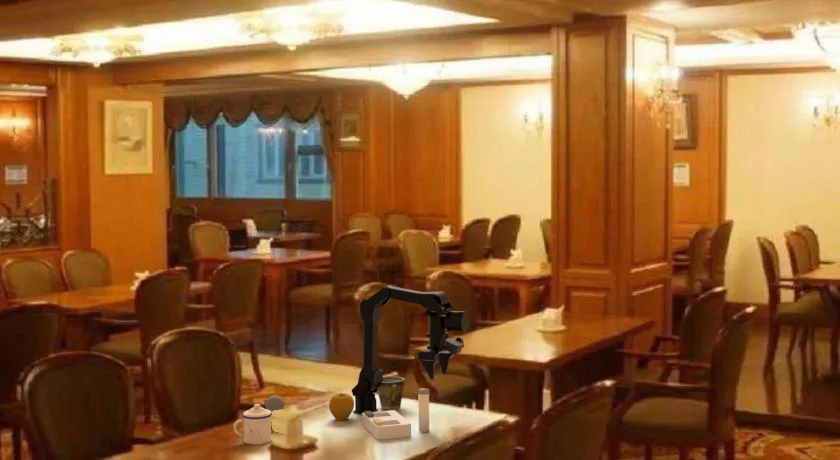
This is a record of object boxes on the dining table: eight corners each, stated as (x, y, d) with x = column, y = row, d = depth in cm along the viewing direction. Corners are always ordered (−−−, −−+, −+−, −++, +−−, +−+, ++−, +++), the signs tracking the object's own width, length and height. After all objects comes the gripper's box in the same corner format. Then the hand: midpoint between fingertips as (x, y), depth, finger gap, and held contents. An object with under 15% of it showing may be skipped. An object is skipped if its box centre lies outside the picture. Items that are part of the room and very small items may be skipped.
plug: (416, 431, 354) (416, 390, 353) (421, 429, 357) (421, 387, 356) (426, 432, 353) (425, 391, 352) (431, 430, 356) (430, 388, 355)
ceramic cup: (373, 405, 390) (372, 377, 389) (400, 403, 393) (399, 375, 392) (382, 413, 378) (382, 385, 377) (410, 411, 381) (410, 382, 380)
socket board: (362, 425, 364) (362, 410, 363) (394, 422, 367) (394, 407, 366) (377, 439, 345) (377, 424, 345) (411, 436, 349) (411, 420, 348)
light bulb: (281, 428, 361) (280, 398, 360) (263, 427, 363) (262, 397, 362) (286, 423, 367) (286, 393, 366) (269, 422, 368) (268, 393, 368)
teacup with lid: (269, 436, 352) (268, 400, 351) (275, 443, 343) (274, 406, 342) (232, 439, 348) (230, 403, 347) (236, 447, 340) (235, 410, 339)
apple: (358, 420, 369) (357, 394, 368) (333, 423, 366) (333, 397, 365) (350, 415, 377) (349, 389, 376) (326, 417, 374) (325, 392, 373)
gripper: (447, 336, 354) (447, 384, 355) (471, 327, 370) (472, 373, 371) (416, 334, 359) (417, 381, 360) (441, 325, 375) (442, 370, 377)
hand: (438, 376), depth 367 cm, fingers open, 9 cm apart
